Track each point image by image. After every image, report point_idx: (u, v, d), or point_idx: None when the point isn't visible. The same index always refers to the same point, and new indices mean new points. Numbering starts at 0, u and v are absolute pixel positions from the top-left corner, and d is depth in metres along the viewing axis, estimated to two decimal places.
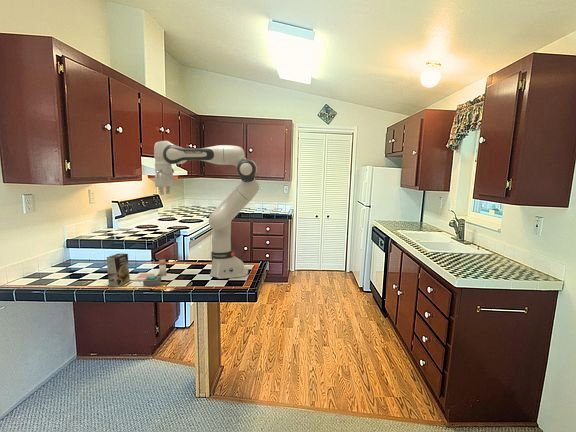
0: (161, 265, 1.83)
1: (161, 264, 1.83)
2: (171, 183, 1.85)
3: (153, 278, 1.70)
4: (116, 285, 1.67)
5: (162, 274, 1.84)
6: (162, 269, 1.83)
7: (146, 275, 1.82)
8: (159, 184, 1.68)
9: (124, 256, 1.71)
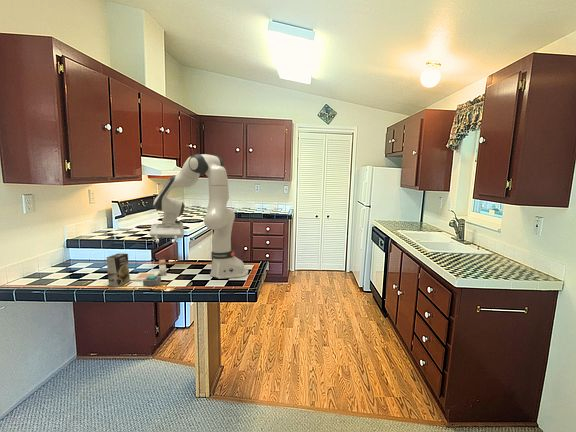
0: (161, 265, 1.83)
1: (161, 264, 1.83)
2: (177, 233, 1.96)
3: (153, 278, 1.70)
4: (116, 285, 1.67)
5: (162, 274, 1.84)
6: (162, 269, 1.83)
7: (146, 275, 1.82)
8: None
9: (124, 256, 1.71)
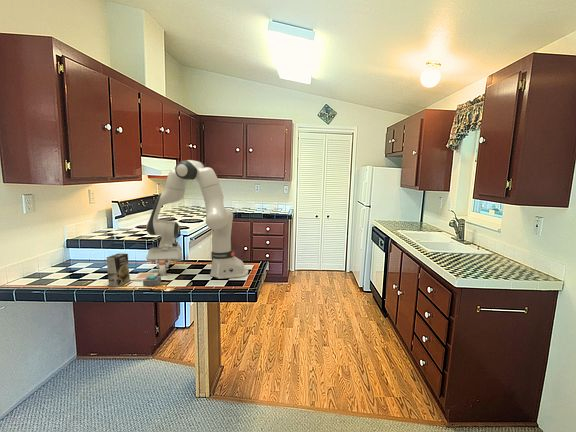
0: (161, 265, 1.83)
1: (161, 264, 1.83)
2: (174, 256, 1.87)
3: (153, 278, 1.70)
4: (116, 285, 1.67)
5: (162, 274, 1.84)
6: (162, 269, 1.83)
7: (146, 275, 1.82)
8: None
9: (124, 256, 1.71)
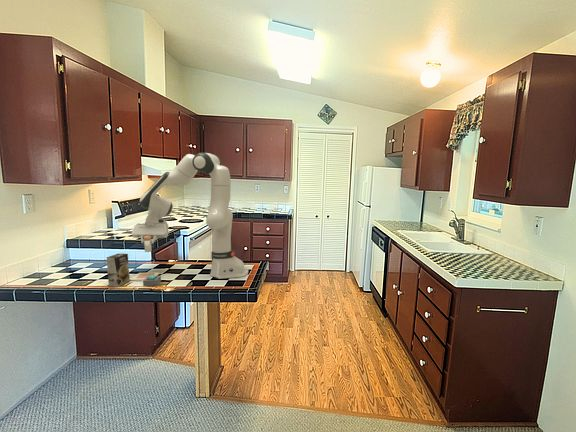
0: (146, 240, 1.79)
1: (146, 239, 1.79)
2: (160, 232, 1.82)
3: (153, 278, 1.70)
4: (116, 285, 1.67)
5: (147, 250, 1.79)
6: (147, 244, 1.79)
7: (146, 275, 1.82)
8: None
9: (124, 256, 1.71)
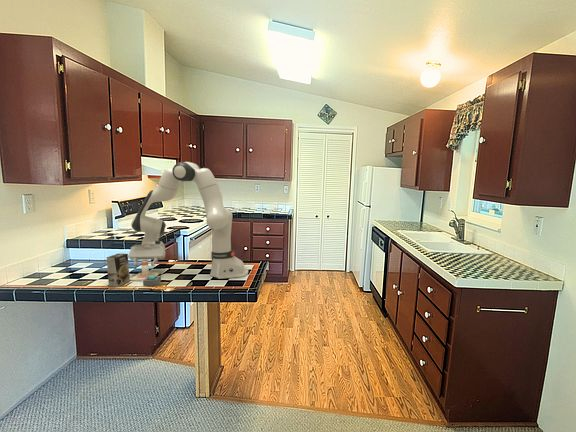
0: (143, 265, 1.79)
1: (143, 264, 1.79)
2: (157, 254, 1.83)
3: (153, 278, 1.70)
4: (116, 285, 1.67)
5: (144, 274, 1.80)
6: (144, 269, 1.80)
7: None
8: None
9: (124, 256, 1.71)
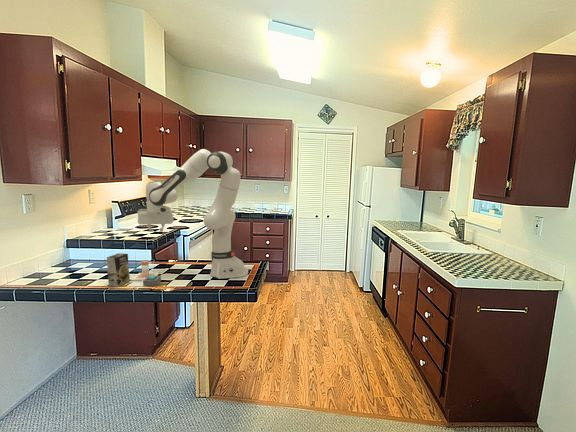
0: (143, 265, 1.79)
1: (143, 264, 1.79)
2: (165, 221, 1.87)
3: (153, 278, 1.70)
4: (116, 285, 1.67)
5: (144, 274, 1.80)
6: (144, 269, 1.80)
7: None
8: None
9: (124, 256, 1.71)
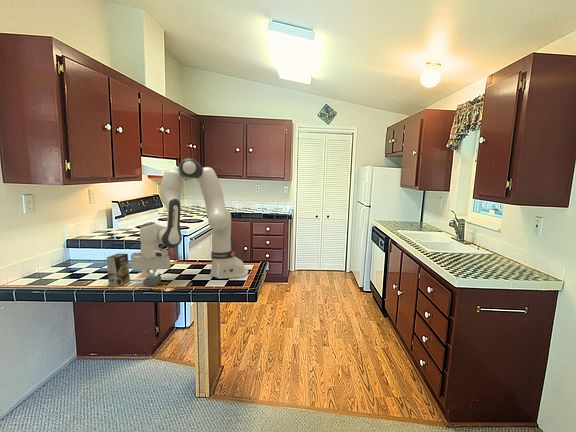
0: None
1: None
2: (162, 267, 1.69)
3: (153, 279, 1.70)
4: (116, 285, 1.67)
5: (144, 275, 1.80)
6: None
7: None
8: None
9: (124, 256, 1.71)
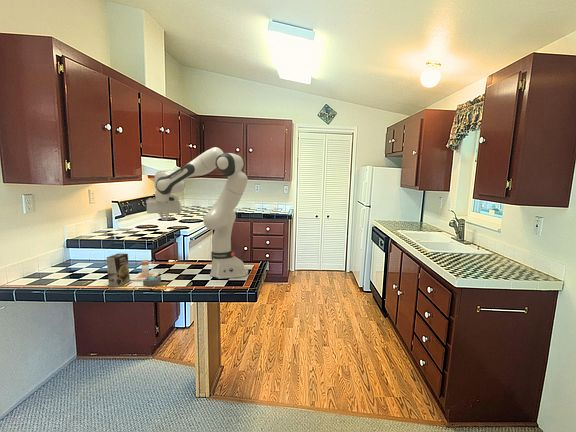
0: (143, 265, 1.80)
1: (143, 264, 1.80)
2: (174, 210, 1.91)
3: None
4: (116, 285, 1.67)
5: (144, 274, 1.80)
6: (144, 269, 1.80)
7: None
8: None
9: (124, 256, 1.71)
